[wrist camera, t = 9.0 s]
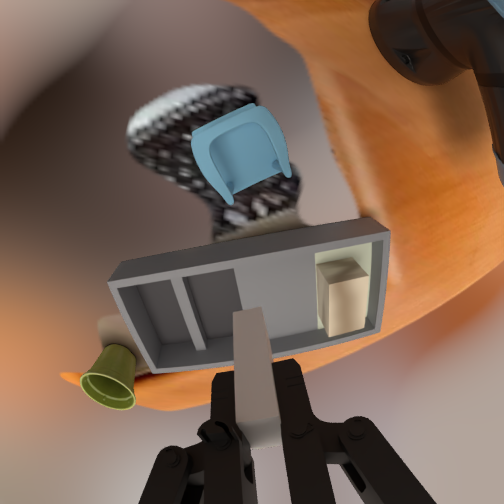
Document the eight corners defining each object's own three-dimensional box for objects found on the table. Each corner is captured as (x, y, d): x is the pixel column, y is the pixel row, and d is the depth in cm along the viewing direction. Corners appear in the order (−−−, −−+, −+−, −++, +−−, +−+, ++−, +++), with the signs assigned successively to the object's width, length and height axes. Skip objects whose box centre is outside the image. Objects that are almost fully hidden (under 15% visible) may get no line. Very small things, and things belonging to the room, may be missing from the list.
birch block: (352, 257, 34) (368, 275, 29) (350, 306, 37) (364, 327, 33) (316, 264, 34) (328, 284, 29) (317, 314, 37) (328, 337, 33)
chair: (223, 194, 32) (223, 228, 21) (191, 132, 29) (171, 132, 18) (283, 165, 31) (314, 185, 20) (253, 102, 28) (269, 85, 17)
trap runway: (370, 216, 35) (390, 230, 30) (365, 311, 41) (380, 332, 36) (121, 261, 34) (106, 282, 29) (158, 348, 41) (152, 373, 36)
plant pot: (94, 329, 39) (75, 365, 31) (146, 344, 40) (135, 384, 32) (97, 365, 42) (84, 399, 34) (144, 378, 44) (136, 415, 36)
